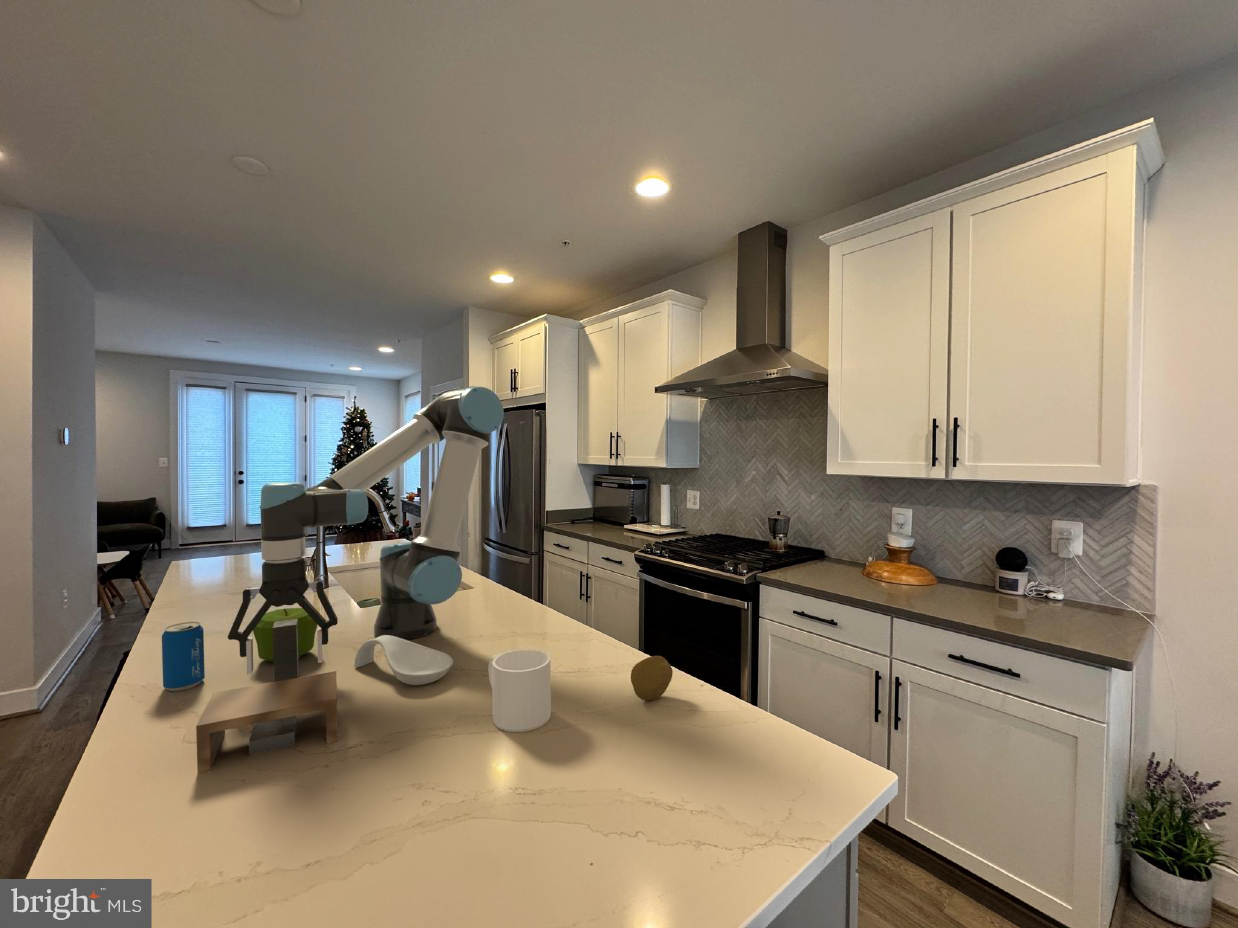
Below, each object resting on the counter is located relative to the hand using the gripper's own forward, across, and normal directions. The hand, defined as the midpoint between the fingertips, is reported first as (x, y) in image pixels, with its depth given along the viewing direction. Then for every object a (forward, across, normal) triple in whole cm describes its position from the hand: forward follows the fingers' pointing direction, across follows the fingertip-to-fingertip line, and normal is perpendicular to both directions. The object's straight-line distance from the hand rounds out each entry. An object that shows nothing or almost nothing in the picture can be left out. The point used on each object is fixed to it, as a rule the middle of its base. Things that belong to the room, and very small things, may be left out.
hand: (286, 665), depth 108 cm
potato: (+3, -61, +42) cm, 74 cm away
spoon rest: (+4, -21, +7) cm, 22 cm away
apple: (+3, +1, -15) cm, 15 cm away
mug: (+3, -37, +36) cm, 52 cm away
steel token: (+4, 0, +25) cm, 25 cm away
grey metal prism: (+3, 0, +8) cm, 9 cm away
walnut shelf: (+3, 0, +24) cm, 24 cm away
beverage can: (+3, +18, -8) cm, 20 cm away
